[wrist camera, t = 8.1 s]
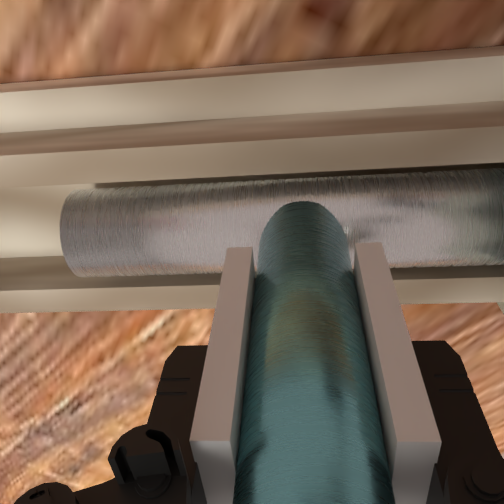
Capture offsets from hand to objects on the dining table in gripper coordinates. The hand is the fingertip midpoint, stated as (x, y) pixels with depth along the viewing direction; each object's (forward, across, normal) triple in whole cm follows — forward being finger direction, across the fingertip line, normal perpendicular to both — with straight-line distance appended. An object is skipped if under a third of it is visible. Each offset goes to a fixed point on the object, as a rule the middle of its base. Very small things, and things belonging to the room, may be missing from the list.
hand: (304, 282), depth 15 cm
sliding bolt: (+5, +1, 0) cm, 5 cm away
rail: (+7, -6, 0) cm, 9 cm away
